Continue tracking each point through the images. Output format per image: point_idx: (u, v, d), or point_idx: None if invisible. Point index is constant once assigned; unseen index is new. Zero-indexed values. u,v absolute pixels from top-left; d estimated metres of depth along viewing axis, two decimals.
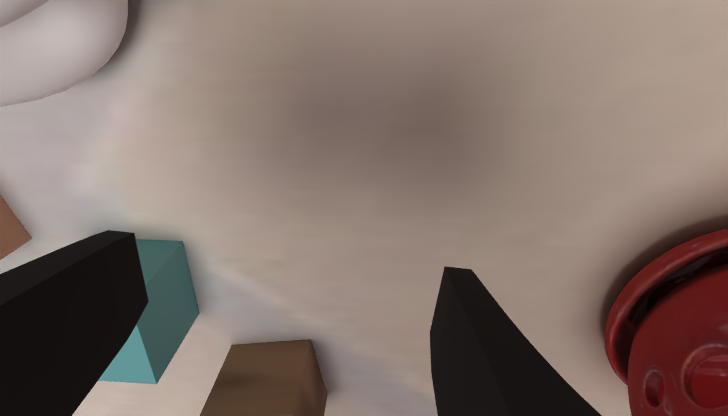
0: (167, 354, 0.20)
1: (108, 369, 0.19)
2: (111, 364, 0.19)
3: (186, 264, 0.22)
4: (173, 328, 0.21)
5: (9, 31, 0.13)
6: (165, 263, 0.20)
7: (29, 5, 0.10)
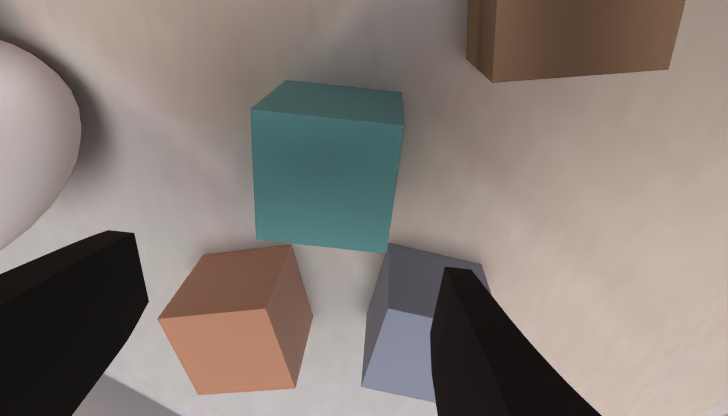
0: (387, 112, 0.14)
1: (371, 183, 0.14)
2: (361, 175, 0.14)
3: (316, 84, 0.17)
4: (365, 104, 0.15)
5: None
6: (276, 89, 0.16)
7: None
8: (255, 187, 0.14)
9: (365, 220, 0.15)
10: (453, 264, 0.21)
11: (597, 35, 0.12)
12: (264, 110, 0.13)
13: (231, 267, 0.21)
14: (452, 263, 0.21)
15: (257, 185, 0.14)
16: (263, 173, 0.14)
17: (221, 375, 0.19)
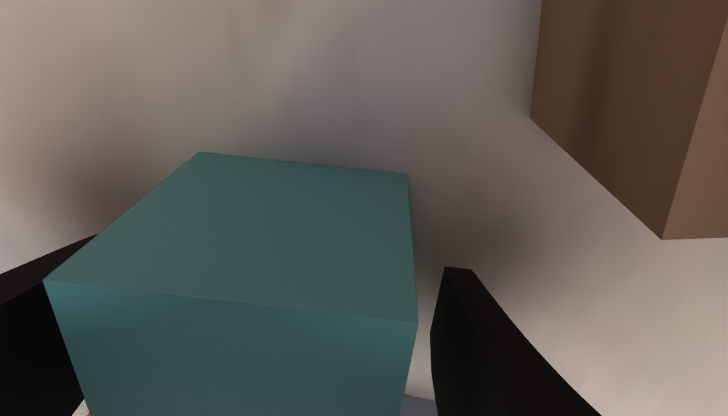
0: (378, 259, 0.06)
1: None
2: (319, 405, 0.06)
3: (252, 161, 0.10)
4: (335, 223, 0.07)
5: None
6: (163, 184, 0.08)
7: None
8: (93, 415, 0.07)
9: None
10: None
11: None
12: (79, 280, 0.05)
13: None
14: None
15: (97, 412, 0.07)
16: (103, 394, 0.06)
17: None
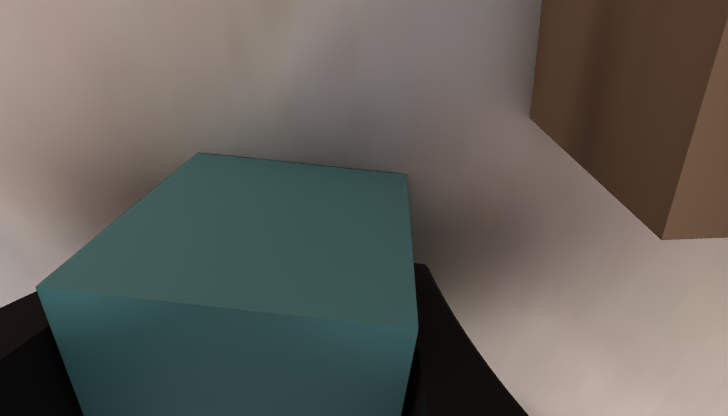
0: (378, 263, 0.06)
1: None
2: (318, 412, 0.06)
3: (250, 163, 0.09)
4: (333, 227, 0.07)
5: None
6: (160, 187, 0.08)
7: None
8: None
9: None
10: None
11: None
12: (72, 287, 0.05)
13: None
14: None
15: None
16: (99, 402, 0.06)
17: None
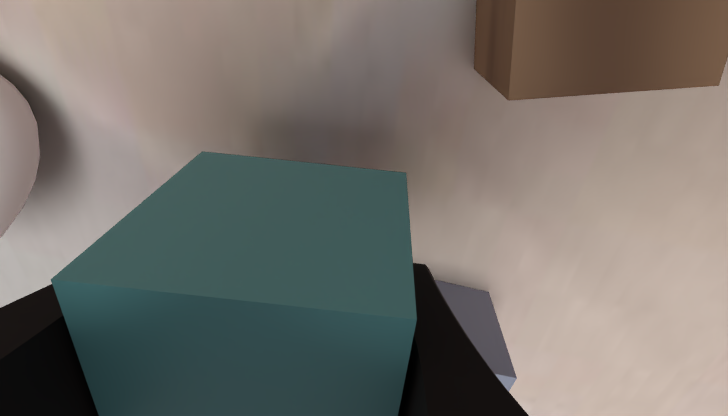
0: (378, 258, 0.07)
1: (344, 414, 0.07)
2: (321, 400, 0.06)
3: (254, 161, 0.10)
4: (335, 223, 0.07)
5: None
6: (166, 185, 0.08)
7: None
8: (100, 411, 0.07)
9: None
10: (458, 293, 0.19)
11: (635, 44, 0.10)
12: (86, 279, 0.06)
13: None
14: (457, 291, 0.19)
15: (103, 408, 0.07)
16: (110, 391, 0.07)
17: None
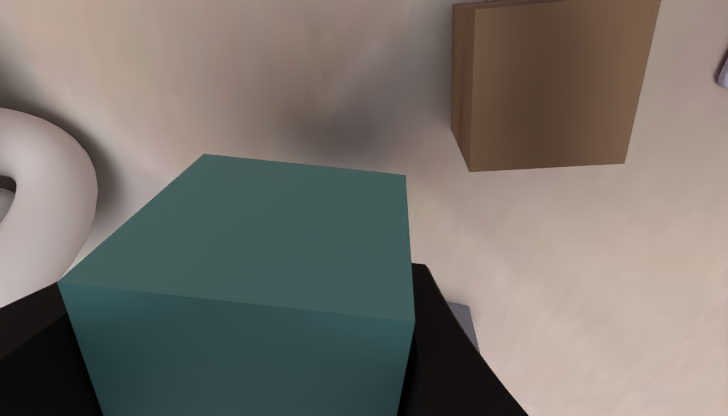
0: (377, 260, 0.07)
1: (344, 414, 0.07)
2: (321, 400, 0.07)
3: (255, 163, 0.10)
4: (335, 226, 0.08)
5: (15, 196, 0.17)
6: (169, 188, 0.08)
7: None
8: (104, 411, 0.07)
9: None
10: None
11: (560, 135, 0.13)
12: (92, 281, 0.06)
13: None
14: None
15: (108, 407, 0.07)
16: (115, 391, 0.07)
17: None
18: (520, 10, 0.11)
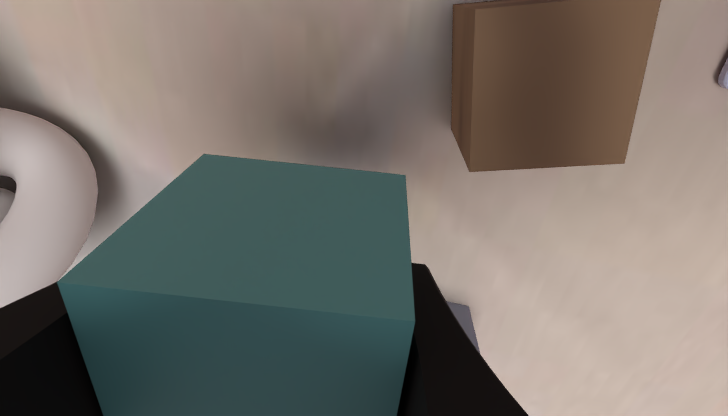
0: (377, 260, 0.07)
1: (344, 414, 0.07)
2: (321, 400, 0.07)
3: (255, 163, 0.10)
4: (335, 226, 0.08)
5: (15, 196, 0.17)
6: (169, 188, 0.08)
7: None
8: (104, 411, 0.07)
9: None
10: None
11: (560, 135, 0.13)
12: (92, 281, 0.06)
13: None
14: None
15: (108, 407, 0.07)
16: (115, 391, 0.07)
17: None
18: (520, 10, 0.11)
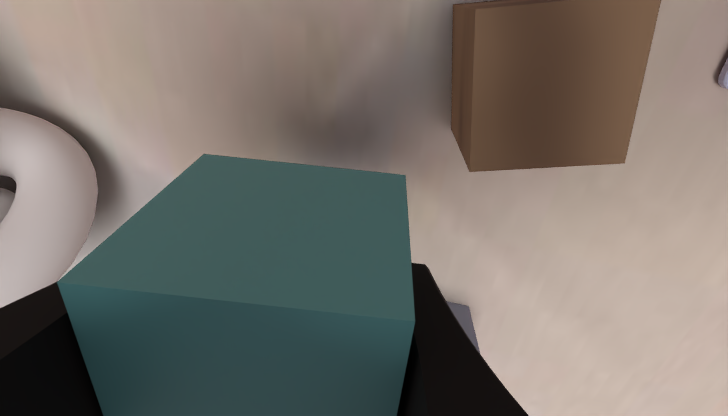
0: (377, 260, 0.07)
1: (344, 414, 0.07)
2: (321, 400, 0.07)
3: (255, 163, 0.10)
4: (335, 226, 0.08)
5: (15, 196, 0.17)
6: (169, 188, 0.08)
7: None
8: (104, 411, 0.07)
9: None
10: None
11: (560, 135, 0.13)
12: (92, 281, 0.06)
13: None
14: None
15: (108, 407, 0.07)
16: (115, 391, 0.07)
17: None
18: (520, 10, 0.11)
